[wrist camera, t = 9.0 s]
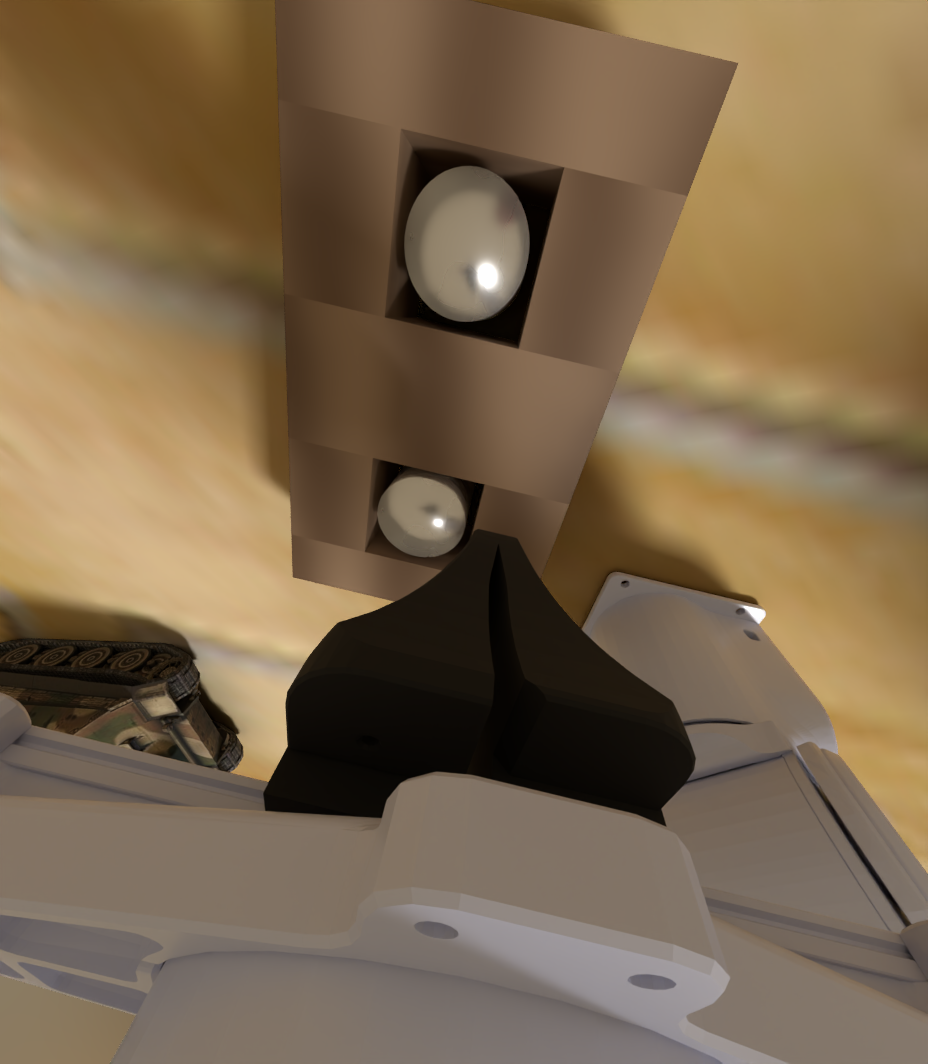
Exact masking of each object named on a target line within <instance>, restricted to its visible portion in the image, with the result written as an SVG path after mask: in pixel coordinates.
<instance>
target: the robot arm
mask: <svg viewBox="0 0 928 1064" xmlns="http://www.w3.org/2000/svg"><path fill="white" fill-rule="evenodd" d="M622 581H628V582H627V583H625V584H622V583H621V582H622ZM739 608H741V609H740V610H737V609H739ZM736 610H737V611H736ZM765 615H766V612H765V610H764V609H763V608H762V607H761V606H759V605H755V604H751V603H747V602H742V601H738V600H734V599H730V598H726V597H721V596H717V595H713V594H709V593H705V592H700V591H696V590H692V589H688V588H684V587H680V586H675V585H671V584H667V583H663V582H659V581H654V580H650V579H646V578H642V577H638V576H633V575H629V574H625V573H621V572H613V573H611V574H609V576H608V577H607V579H606V581H605V583H604V585H603V587H602V589H601V591H600V593H599V595H598V597H597V599H596V601H595V603H594V605H593V607H592V609H591V611H590V613H589V615H588V617H587V619H586V621H585V623H584V625H583V627H582V630H581V629H580V628H579V627H578V626H577V625H576V624H575V622H574V621H573V620H572V619H571V618H570V617H569V616H568V615H567V613H566V612H565V611H564V610H563V609H562V608H561V607H560V605H559V604H558V603H557V602H556V600H555V599H554V598H553V596H552V595H551V594H550V592H549V591H548V590H547V588H546V587H545V585H544V584H543V582H542V581H541V579H540V578H539V576H538V575H537V573H536V571H535V570H534V568H533V566H532V565H531V563H530V561H529V559H528V557H527V555H526V554H525V552H524V550H523V548H522V546H521V544H520V542H519V540H518V539H517V538H515V537H511V536H507V535H502V534H498V533H494V532H490V531H486V530H481V529H477V530H475V531H474V532H473V535H472V537H471V538H470V540H469V541H468V543H467V544H466V546H465V547H464V548H463V549H462V550H461V552H460V553H459V554H458V555H457V556H456V557H455V558H454V559H453V560H452V561H451V562H450V563H449V564H448V565H447V566H446V567H445V568H444V569H443V570H442V571H441V572H439V573H438V574H437V575H436V576H435V577H433V578H432V579H431V580H429V581H428V582H427V583H425V584H424V585H422V586H421V587H419V588H418V589H416V590H415V591H413V592H411V593H410V594H408V595H406V596H405V597H403V598H401V599H399V600H397V601H395V602H393V603H391V604H389V605H386V606H384V607H382V608H380V609H378V610H375V611H373V612H370V613H367V614H364V615H361V616H358V617H354V618H351V619H348V620H345V621H341V622H339V623H337V624H336V625H335V626H334V627H333V628H332V629H331V630H330V632H329V633H328V634H327V635H326V636H325V637H324V638H323V640H322V641H321V642H320V643H319V644H318V646H317V647H316V648H315V649H314V650H313V652H312V653H311V654H310V656H309V657H308V659H307V660H306V662H305V663H304V665H303V667H302V668H301V670H300V672H299V673H298V675H297V677H296V678H295V680H294V682H293V683H292V685H291V687H290V688H289V690H288V692H287V698H286V723H287V741H288V747H287V749H286V751H285V753H284V754H283V756H282V758H281V760H280V762H279V764H278V766H277V768H276V770H275V771H274V773H273V775H272V777H271V779H270V781H269V782H266V781H262V780H258V779H254V778H249V777H245V776H241V775H237V774H233V773H229V772H224V771H220V770H216V769H212V768H208V767H204V766H199V765H195V764H191V763H187V762H183V761H179V760H174V759H170V758H166V757H162V756H158V755H154V754H149V753H145V752H141V751H137V750H133V749H129V748H124V747H120V746H116V745H112V744H108V743H104V742H99V741H95V740H91V739H87V738H83V737H79V736H74V735H70V734H66V733H62V732H58V731H54V730H49V729H45V728H41V727H37V726H33V725H31V719H30V717H29V714H28V712H27V711H26V709H25V708H24V707H23V706H22V704H21V703H20V702H18V701H17V700H15V699H14V698H12V697H11V696H8V695H6V694H3V693H0V975H1V976H4V977H8V978H11V979H14V980H18V981H21V982H24V983H28V984H31V985H35V986H38V987H41V988H45V989H48V990H51V991H55V992H58V993H62V994H65V995H69V996H72V997H75V998H78V999H82V1000H86V1001H89V1002H92V1003H96V1004H99V1005H102V1006H106V1007H109V1008H112V1009H116V1010H119V1011H122V1012H126V1013H129V1014H133V1015H136V1016H135V1018H134V1020H133V1022H132V1024H131V1026H130V1027H129V1029H128V1031H127V1033H126V1035H125V1037H124V1039H123V1040H122V1042H121V1044H120V1046H119V1048H118V1049H117V1051H116V1054H115V1055H114V1057H113V1059H112V1060H111V1062H110V1064H928V874H927V873H926V871H925V870H924V868H923V867H922V866H921V864H920V863H919V862H918V860H917V859H916V858H915V856H914V855H913V853H912V852H911V851H910V849H909V848H908V847H907V845H906V844H905V843H904V841H903V840H902V838H901V837H900V836H899V834H898V833H897V832H896V830H895V829H894V828H893V826H892V825H891V824H890V822H889V821H888V819H887V818H886V817H885V815H884V814H883V813H882V811H881V810H880V809H879V807H878V806H877V805H876V803H875V802H874V801H873V799H872V798H871V797H870V795H869V794H868V793H867V791H866V790H865V788H864V787H863V786H862V784H861V783H860V782H859V780H858V779H857V778H856V776H855V775H854V774H853V772H852V771H851V770H850V768H849V767H848V766H847V765H846V763H845V762H844V761H843V759H842V758H841V757H840V756H839V755H838V748H837V742H836V737H835V733H834V729H833V726H832V723H831V721H830V718H829V716H828V714H827V713H826V711H825V709H824V707H823V706H822V704H821V703H820V701H819V700H818V699H817V697H816V696H815V695H814V694H813V692H812V691H811V690H810V689H809V687H808V686H807V685H806V684H805V682H804V681H803V680H802V679H801V677H800V676H799V675H798V673H797V672H796V671H795V670H794V668H793V667H792V666H791V665H790V663H789V662H788V661H787V660H786V658H785V657H784V656H783V655H782V653H781V652H780V651H779V650H778V648H777V647H776V646H775V644H774V643H773V642H772V641H771V639H770V638H769V637H768V636H767V634H766V633H765V632H764V631H763V629H762V628H761V627H760V626H759V623H760V622H761V621H762V620H763V618H764V617H765Z"/></svg>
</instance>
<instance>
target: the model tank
mask: <svg viewBox="0 0 928 1064" xmlns="http://www.w3.org/2000/svg"><path fill="white" fill-rule="evenodd" d="M199 678H200V673H199V671H198V669H197V668H196V666H195V664H194V663H193V661H192V659H191V657H190V656H189V654H187V653H185V652H183V651H182V650H180V649H178V648H176V647H174V646H173V645H170V644H165V643H144V642H116V641H87V640H58V639H30V638H28V639H19V640H12V641H7V642H2V643H0V693H3V694H6V695H8V696H11V697H12V698H14V699H15V700H17V701H18V702H20V703H21V704H22V706H23V707H24V708H25V709H26V711H27V712H28V714H29V717H30V719H31V725H33V726H37V727H41V728H45V729H49V730H54V731H58V732H62V733H66V734H70V735H74V736H79V737H83V738H87V739H91V740H95V741H99V742H104V743H108V744H112V745H116V746H120V747H124V748H129V749H133V750H137V751H141V752H145V753H149V754H154V755H158V756H162V757H166V758H170V759H174V760H179V761H183V762H187V763H191V764H195V765H199V766H204V767H208V768H212V769H216V770H220V771H224V772H229V773H230V772H231V771H232V770H234V769H235V768H236V767H237V766H238V764H239V763H240V761H241V759H242V758H243V746H242V744H241V743H240V741H239V739H238V738H237V736H236V734H235V733H234V732H233V731H231V730H230V729H228V728H227V727H225V726H224V725H222V724H221V723H219V722H216V721H212V720H211V719H210V717H209V716H208V714H207V712H206V711H205V709H204V708H203V706H202V704H201V703H200V701H199V696H200V695H201V693H200V691H198V683H199ZM197 691H198V692H199V695H198V696H196V695H197V694H198V692H197ZM196 692H197V693H196ZM195 693H196V694H195Z"/></svg>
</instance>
